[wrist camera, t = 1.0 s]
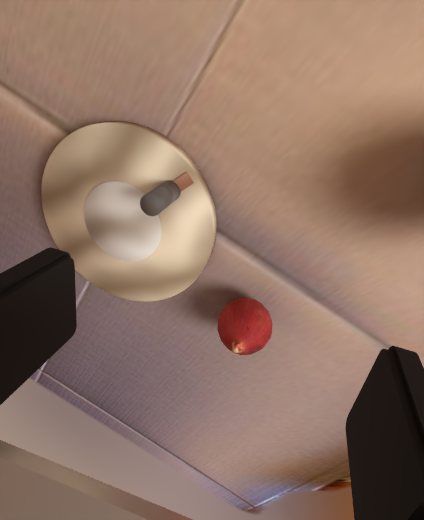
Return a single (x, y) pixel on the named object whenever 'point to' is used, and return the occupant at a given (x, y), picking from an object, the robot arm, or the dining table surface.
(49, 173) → the turntable
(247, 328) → the onion
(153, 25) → the dining table surface
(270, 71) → the dining table surface
